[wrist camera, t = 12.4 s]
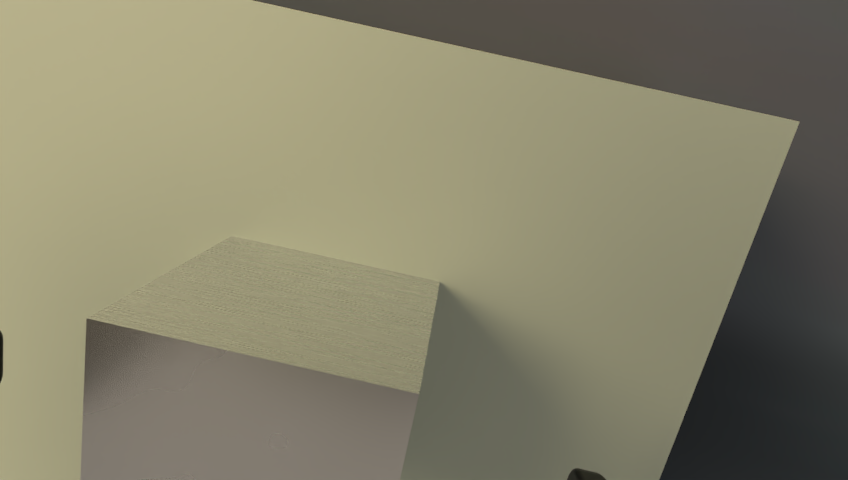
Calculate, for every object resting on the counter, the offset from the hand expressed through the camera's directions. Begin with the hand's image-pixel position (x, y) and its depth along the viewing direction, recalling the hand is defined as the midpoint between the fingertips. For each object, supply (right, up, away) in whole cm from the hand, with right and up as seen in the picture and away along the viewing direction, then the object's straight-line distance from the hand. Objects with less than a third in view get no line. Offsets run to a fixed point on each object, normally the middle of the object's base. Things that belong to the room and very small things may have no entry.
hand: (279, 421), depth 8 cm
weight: (0, +1, +2) cm, 2 cm away
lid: (0, 0, +3) cm, 3 cm away
